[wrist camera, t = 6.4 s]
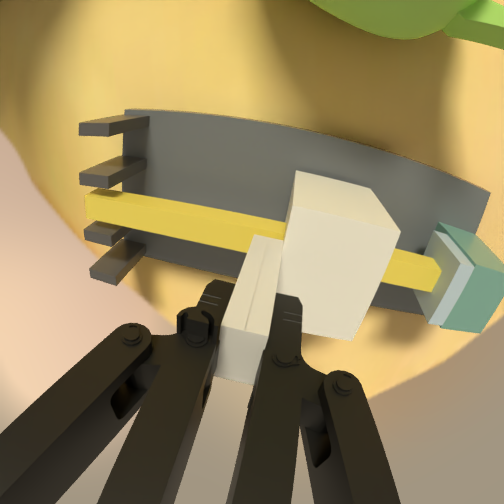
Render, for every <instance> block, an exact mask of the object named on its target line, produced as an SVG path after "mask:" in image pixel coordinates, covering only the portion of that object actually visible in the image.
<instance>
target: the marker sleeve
mask: <svg viewBox="0 0 504 504" xmlns="http://www.w3.org/2000/svg"><path fill="white" fill-rule="evenodd" d="M285 223H286V230H285V234H284V239H283V241H284V242H283V249H282V257H281V264H280V270H279V277H278V283H277V289H276V293H281V294H285V295H290V296H295V297H298V298H299V300H300V302H301V303H302V305H303V315H302V332H303V333H308V334H313V335H319V336H324V337H330V338H336V339H342V340H348V341H352V340H353V338H354V336H355V334H356V332H357V330H358V329H359V327H360V325H361V323H362V321H363V319H364V316H365V314H366V312H367V310H368V308H369V306H370V304H371V302H372V300H373V298H374V295H375V293H376V291H377V289H378V287H379V284H380V282H381V280H382V278H383V275H384V273H385V271H386V268H387V266H388V263H389V261H390V259H391V256H392V254H393V251H394V249H395V246H396V243H397V241H398V238H399V236H400V233H401V231H400V230H399V228H398V227H397V225H396V224H395V222H394V221H393V219H392V218H391V217H390V215H389V214H388V212H387V211H386V209H385V208H384V207H383V205H382V204H381V202H380V201H379V200H378V198H377V197H376V196H375V194H374V193H373V191H372V190H371V189H370V188H367V187H363V186H359V185H355V184H352V183H348V182H344V181H340V180H336V179H332V178H328V177H324V176H319V175H315V174H311V173H306V172H302V171H297V170H296V172H295V177H294V182H293V187H292V191H291V196H290V201H289V206H288V210H287V215H286V219H285Z"/></svg>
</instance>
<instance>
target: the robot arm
mask: <svg viewBox="0 0 504 504" xmlns="http://www.w3.org/2000/svg"><path fill="white" fill-rule="evenodd" d="M283 242H284V241H283V240H278V239H274V238H269V237H265V236H260V235H256V234H254V236H253V239H252V241H251V244H250V247H249V250H248V252H247V255H246V258H245V260H244V263H243V266H242V269H241V271H240V274H239V277H238V279H237V282H236V284H233V283H229V282H224V281H220V280H216V279H215V280H213V281H212V282H211V283H209V284H208V285H207V286H206V288H205V290H204V292H203V295H202V296H201V298H200V300H199V302H198V304H197V306H196V307H188V308H186V309H184V310H181V311H180V312H179V313H178V315H177V333H176V334H173V335H151V333H150V331H149V329H147V328H146V327H145V326H144V325H141V324H138V323H128V324H123V325H121V326H120V327H118V328H117V329H115V330H114V331H113V332H112V333H111V334H110V335H109V336H107V337H106V338H105V339H104V340H103V341H102V342H100V343H99V344H98V345H97V346H96V347H95V348H94V349H92V350H91V351H90V352H89V353H88V354H87V355H86V356H84V357H83V358H82V359H81V360H80V361H79V362H78V363H77V364H75V365H74V366H73V367H72V368H71V369H70V370H69V371H68V372H66V374H64V375H63V376H62V377H61V378H60V379H59V380H58V381H56V382H55V383H54V384H53V385H52V386H51V387H50V388H49V389H48V390H47V391H46V392H44V393H43V394H42V395H41V396H40V397H39V398H38V399H37V400H36V401H35V402H34V403H33V404H31V405H30V406H29V407H28V408H27V409H26V410H25V411H24V412H23V413H22V414H21V415H20V416H19V417H18V418H16V419H15V420H14V421H13V422H12V423H11V424H10V425H9V426H8V427H7V428H6V429H5V430H4V431H3V432H2V433H1V434H0V504H55V503H56V502H57V501H58V500H59V499H60V498H61V496H62V495H63V494H64V493H65V492H66V491H67V490H68V489H69V488H70V486H71V485H72V484H73V483H74V482H75V481H76V480H77V479H78V478H79V476H80V475H81V474H82V473H83V472H84V471H85V470H86V469H87V468H88V466H89V465H90V464H91V463H92V462H93V461H94V460H95V459H96V457H97V456H98V455H99V454H100V453H101V452H102V451H103V450H104V448H105V447H106V446H107V445H108V444H109V442H111V440H112V439H113V438H114V437H115V436H116V435H117V434H118V432H119V431H120V430H121V429H122V428H123V427H124V425H125V424H126V423H127V422H128V421H129V420H130V419H131V418H132V416H133V415H134V414H135V413H136V412H137V411H138V409H139V408H140V407H141V408H140V410H139V412H138V414H137V416H136V419H135V420H134V423H133V425H132V427H131V429H130V431H129V433H128V435H127V438H126V440H125V442H124V444H123V446H122V449H121V451H120V453H119V455H118V457H117V459H116V462H115V464H114V466H113V468H112V471H111V473H110V475H109V477H108V480H107V482H106V484H105V486H104V489H103V491H102V494H101V496H100V498H99V500H98V503H97V504H174V501H175V498H176V495H177V492H178V489H179V486H180V483H181V480H182V477H183V474H184V471H185V468H186V465H187V462H188V459H189V455H190V452H191V449H192V446H193V443H194V440H195V437H196V434H197V431H198V428H199V425H200V421H201V418H202V415H203V412H204V409H205V406H206V403H207V399H208V396H209V394H210V391H211V385H212V379H213V376H216V377H221V378H224V379H228V380H232V381H236V382H241V383H245V384H249V385H254V386H253V391H252V394H251V397H250V401H249V404H248V411H247V416H246V420H245V425H244V429H243V434H242V438H241V442H240V447H239V451H238V456H237V460H236V464H235V469H234V473H233V477H232V481H231V485H230V489H229V493H228V498H227V502H226V504H291V498H292V491H293V483H294V475H295V466H296V457H297V447H298V437H299V426H300V429H301V435H302V440H303V445H304V450H305V456H306V461H307V466H308V472H309V477H310V483H311V488H312V493H313V499H314V504H401V503H400V500H399V496H398V493H397V489H396V486H395V482H394V479H393V476H392V473H391V470H390V466H389V463H388V460H387V457H386V454H385V451H384V448H383V445H382V442H381V439H380V436H379V433H378V430H377V427H376V424H375V421H374V418H373V416H372V413H371V410H370V407H369V404H368V402H367V399H366V396H365V393H364V391H363V388H362V385H361V383H360V382H359V380H358V379H357V378H356V377H355V376H354V375H353V374H351V373H349V372H346V371H340V370H337V371H333V372H330V373H329V374H328V375H326V374H323V373H321V372H319V371H317V370H315V369H313V368H311V367H310V366H309V365H308V364H307V363H306V362H305V361H304V359H303V357H302V355H301V337H302V315H303V305H302V303H301V302H300V300H299V298H298V297H295V296H290V295H285V294H281V293H276V289H277V283H278V277H279V270H280V264H281V257H282V249H283ZM214 373H215V375H214Z"/></svg>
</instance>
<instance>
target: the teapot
mask: <svg viewBox="0 0 504 504" xmlns="http://www.w3.org/2000/svg"><path fill="white" fill-rule="evenodd" d="M309 1H310V2H311V3H313V4H315V5H316V6H318V7H320V8H321V9H323V10H324V11H326V12H328V13H330V14H332V15H333V16H335V17H337V18H339V19H341V20H343V21H345V22H347V23H349V24H351V25H353V26H355V27H357V28H359V29H362V30H364V31H366V32H369V33H372V34H375V35H378V36H381V37H387V38H392V39H402V40H409V39H417V38H421V37H424V36H427V35H430V34H433V33H435V32H437V31H439V30H442V31H443V32H444V33H445V34H446V35H447V36H448V37H454V38H459V39H464V40H469V41H473V42H477V43H481V44H485V45H489V46H493V47H496V48H500V49H503V50H504V6H502V5H500V4H498V3H496V2H494V1H492V0H309Z"/></svg>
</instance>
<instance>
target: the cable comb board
mask: <svg viewBox="0 0 504 504" xmlns="http://www.w3.org/2000/svg"><path fill="white" fill-rule="evenodd" d="M120 133H123V154H122V156H118V157H115V158H113V159H110V160H108V161H105V162H103V163H101V164H98V165H96V166H93V167H91V168H89V169H87V170H84V171H82V172H80V173H79V180H80V185H85V186H92V187H99V188H98V189H96V190H94V191H92V192H90V193H88V194H87V195H85V209H86V218H88V219H93V220H96V221H95V222H93V223H92V224H91V225H89V226H88V227H86V228H85V229H84V237H85V240H87V241H91V242H95V243H99V244H102V245H106V246H110V247H112V246H113V247H112V248H111V249H110V250H109V251H108V252H107V253H106V254H104V255H103V256H102V257H101V258H100V259H99V260H98V261H97V262H96V263H95V264H94V265H93V266H92V267H91V268H90V269H89V270H90V276H91V278H93V279H97V280H100V281H103V282H106V283H109V284H113V285H116V286H117V285H118V284H119V282H120V281H121V280H122V279H123V278H124V277H125V276H126V274H127V273H128V272H129V271H130V270H131V269H132V268H133V267H134V266H135V264H136V263H137V262H138V261H139V260H140V259H141V258H142V257H143V256H146V257H150V258H154V259H158V260H162V261H167V262H171V263H175V264H179V265H183V266H187V267H192V268H196V269H200V270H204V271H209V272H213V273H217V274H222V275H226V276H231V277H235V278H238V277H239V274H240V271H241V269H242V266H243V263H244V260H245V258H246V255H247V252H248V250H249V247H250V244H251V241H252V239H253V236H254V234H256V235H260V236H265V237H269V238H274V239H278V240H283V239H284V234H285V230H286V223H285V219H286V215H287V210H288V206H289V201H290V196H291V191H292V187H293V182H294V177H295V172H296V170H297V171H302V172H306V173H311V174H315V175H319V176H324V177H328V178H332V179H336V180H340V181H344V182H348V183H352V184H355V185H359V186H363V187H367V188H370V189H371V190H372V191H373V193H374V194H375V196H376V197H377V198H378V200H379V201H380V202H381V204H382V205H383V207H384V208H385V209H386V211H387V212H388V214H389V215H390V217H391V218H392V219H393V221H394V222H395V224H396V225H397V227H398V228H399V230H400V231H401V233H400V236H399V238H398V241H397V243H396V246H395V249H394V251H393V254H392V256H391V259H390V261H389V263H388V266H387V268H386V271H385V273H384V275H383V278H382V280H381V282H380V284H379V287H378V289H377V291H376V293H375V295H374V298H373V300H372V302H371V304H370V305H371V306H376V307H381V308H387V309H392V310H398V311H403V312H409V313H415V314H420V315H424V316H425V318H426V320H427V323H428V324H434V325H439V326H440V328H443V329H450V330H458V331H465V332H473V333H481V332H482V330H483V329H484V327H485V326H486V324H487V323H488V321H489V320H490V318H491V316H492V315H493V313H494V312H495V310H496V308H497V307H498V305H499V303H500V302H501V300H502V298H503V297H504V264H503V263H502V262H501V261H500V259H499V258H498V257H497V256H496V255H495V254H494V253H493V252H492V251H491V250H490V249H489V248H488V247H487V246H486V245H485V244H484V243H483V242H482V241H481V240H480V239H479V238H478V237H477V236H476V235H475V233H476V231H477V229H478V226H479V224H480V221H481V218H482V216H483V213H484V210H485V208H486V205H487V202H488V199H489V196H490V192H488V191H487V190H485V189H483V188H481V187H479V186H477V185H475V184H472V183H470V182H468V181H466V180H463V179H461V178H459V177H456V176H454V175H451V174H449V173H447V172H444V171H442V170H439V169H437V168H434V167H431V166H429V165H426V164H423V163H421V162H418V161H415V160H412V159H409V158H406V157H404V156H401V155H398V154H395V153H391V152H388V151H385V150H382V149H379V148H375V147H372V146H369V145H365V144H362V143H358V142H355V141H351V140H347V139H344V138H340V137H336V136H332V135H328V134H324V133H319V132H315V131H311V130H306V129H301V128H297V127H292V126H287V125H281V124H276V123H271V122H265V121H259V120H253V119H246V118H239V117H232V116H224V115H216V114H207V113H197V112H186V111H172V110H154V109H126V110H125V114H124V115H118V116H112V117H106V118H101V119H95V120H90V121H86V122H81V123H79V136H106V137H109V136H113V135H116V134H120ZM120 182H122V192H120V191H114V190H107V189H109V188H111V187H113V186H115V185H116V184H118V183H120ZM101 188H105V189H101ZM123 237H124V239H121V238H123ZM120 239H121V240H120ZM119 240H120V241H119ZM118 241H119V242H118ZM117 242H118V243H117ZM116 243H117V244H116ZM115 244H116V245H115Z"/></svg>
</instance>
